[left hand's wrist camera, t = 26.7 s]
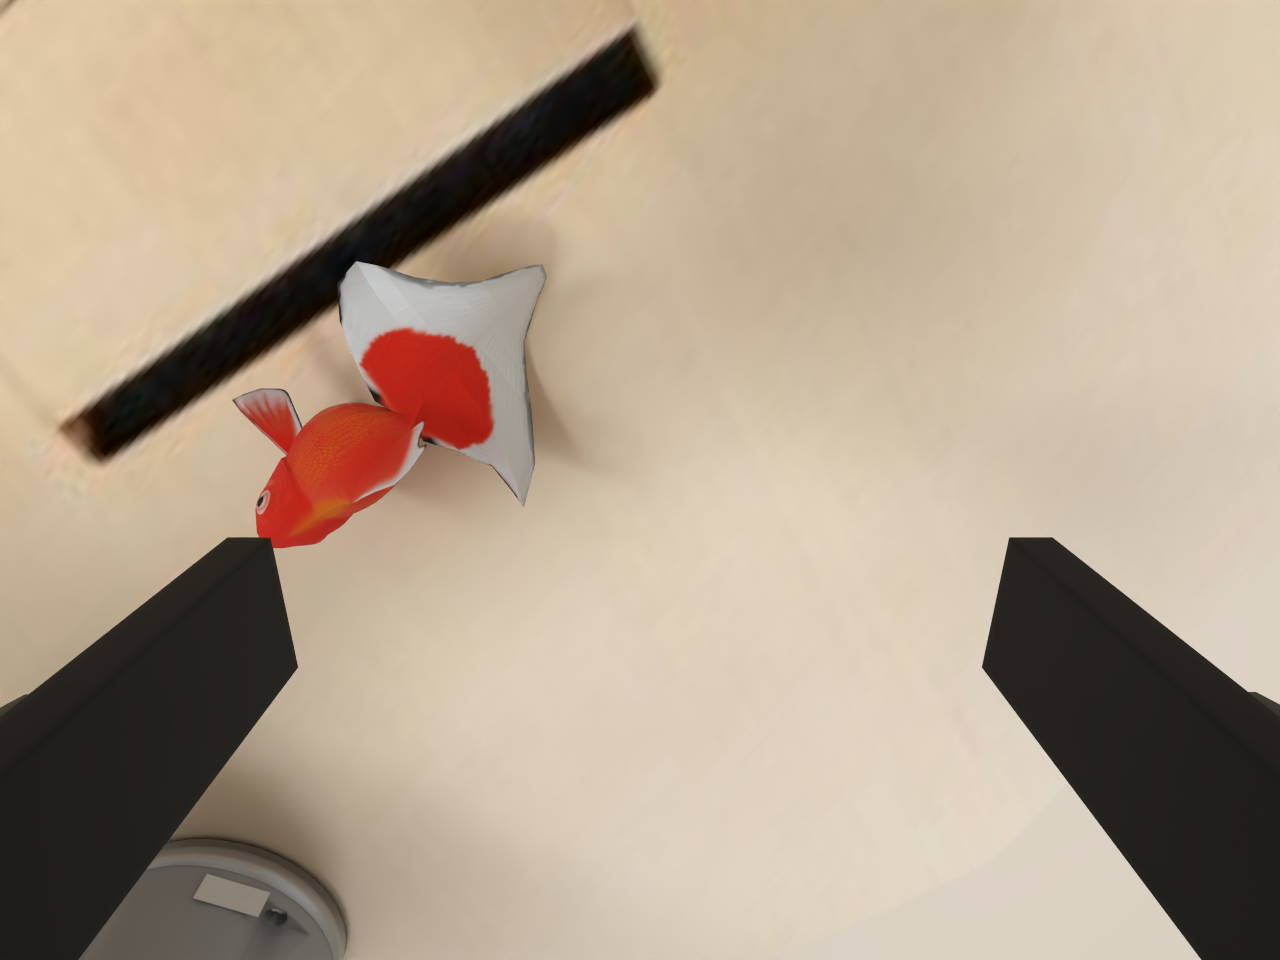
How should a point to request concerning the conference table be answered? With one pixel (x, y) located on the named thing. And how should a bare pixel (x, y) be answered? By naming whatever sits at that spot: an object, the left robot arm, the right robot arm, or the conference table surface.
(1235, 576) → the conference table surface
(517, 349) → the fish
